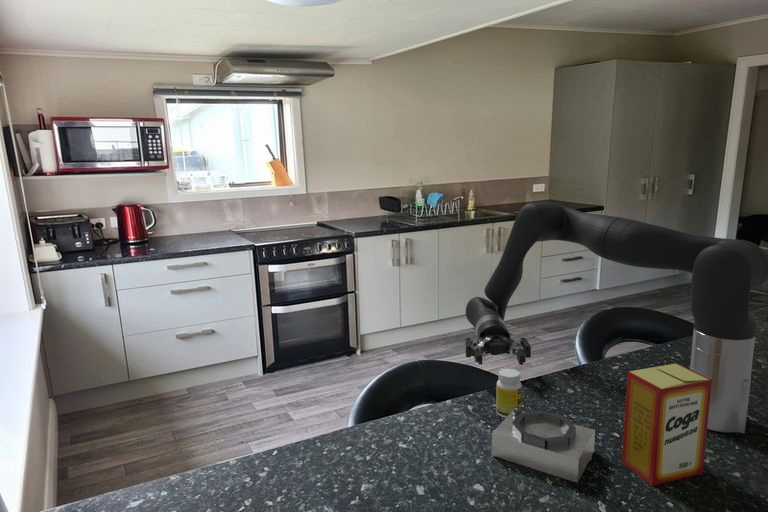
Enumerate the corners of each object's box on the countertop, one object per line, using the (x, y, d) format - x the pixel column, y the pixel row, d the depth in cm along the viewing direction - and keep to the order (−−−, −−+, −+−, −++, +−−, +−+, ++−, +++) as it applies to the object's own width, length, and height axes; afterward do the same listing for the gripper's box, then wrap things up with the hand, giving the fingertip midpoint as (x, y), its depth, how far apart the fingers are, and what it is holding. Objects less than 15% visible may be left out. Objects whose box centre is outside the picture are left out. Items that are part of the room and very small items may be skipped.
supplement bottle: (521, 420, 99) (522, 378, 98) (496, 418, 100) (496, 377, 98) (520, 408, 104) (521, 368, 102) (496, 406, 105) (496, 366, 103)
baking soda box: (652, 485, 79) (659, 386, 76) (621, 461, 85) (627, 369, 82) (702, 473, 82) (712, 377, 78) (669, 451, 88) (677, 361, 85)
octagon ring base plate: (593, 451, 88) (595, 423, 87) (577, 483, 80) (578, 452, 79) (513, 428, 96) (514, 402, 95) (491, 455, 88) (491, 426, 87)
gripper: (462, 319, 127) (467, 343, 111) (522, 319, 126) (536, 343, 110) (462, 348, 129) (467, 376, 113) (521, 348, 128) (535, 377, 112)
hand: (501, 360), depth 112 cm, fingers open, 8 cm apart
